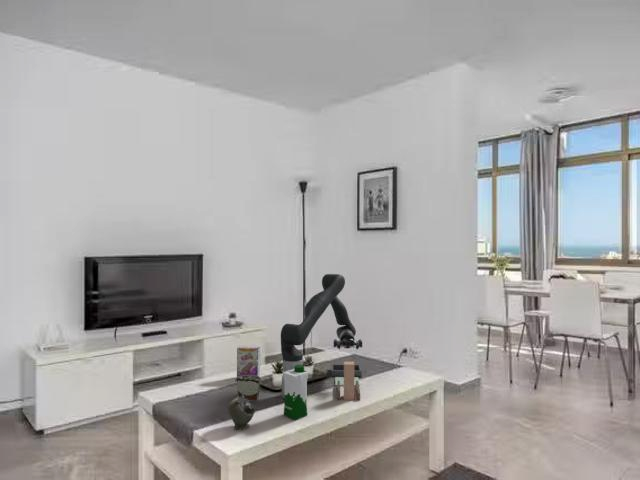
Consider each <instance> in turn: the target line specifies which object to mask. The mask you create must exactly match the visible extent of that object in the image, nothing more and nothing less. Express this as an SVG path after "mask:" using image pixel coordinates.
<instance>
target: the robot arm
mask: <svg viewBox="0 0 640 480" xmlns="http://www.w3.org/2000/svg"><path fill="white" fill-rule="evenodd" d="M345 284H346V278H345V277H344V276H343V275H342V274H339V273H338V274H337V273H328V274H325V275H323V276H322V279H321V286H322V288H323V290H322V291H320V292H318V293H316V294H314V295H313V296H312V297H311V298H310V299H309V300H308V301H307V303H306V304H305V305H304V310H303V311H304V319H303V321H302V322H301V323H299V324H293V323H285V324H284V325H283V326H282V328H281V330H280V349H281V350H280V353H281V355H282V373H283V372H286V371H288V370H292V369H294V368H295V365H303V363H304V360H303V357H304V356H303V355H304V354H303V352H302V351H301V350H299V349H298V348H297V347H296V346H301V345H303V344H304V343H305V341H306V340H307V338H308V337H309V335H310V334H311V332H312V331H313V328H314V326H315V325H316V323H317V322H318V320H320V318H321V317H322V316H323V314H324V313H325V311H326V310H327V309H328V307H329V305H330V306H331V308H332V310H333V313H334V317H335V322H336V324H337V325H338V326H339V327H337V329H336V337H337V338H338V339H339V340H337V339H334V340H333V348H336V349H338V350H340V349H341V348H342V349H343V348H344V349H351V348H355V349H356V350H359V349H360V348H363V341H362V339H358V340H356V339H355V336H356V333H357V330H356V328H355V326H354V324H353V323H352V322H351V320H350V317H349V314H348V309H347V308H346V307H347V306H345V304H344V303H343V302H342V301H341V299H340V298H338V295H339V294H340V293H341V292H342V291H343V289H344V287H345ZM303 366H304V365H303ZM281 398H282V399H285V384H284V377H283V375H282V377H281Z"/></svg>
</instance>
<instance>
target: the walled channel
mask: <svg viewBox="0 0 640 480" xmlns="http://www.w3.org/2000/svg"><path fill="white" fill-rule="evenodd" d="M359 384H360V383H359ZM359 384H358V381H356V386H355V390H356V396H357V401H361V390H360V386H359ZM337 401H341V386H340V381H338V386H337Z"/></svg>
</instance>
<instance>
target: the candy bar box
mask: <svg viewBox="0 0 640 480" xmlns="http://www.w3.org/2000/svg"><path fill="white" fill-rule="evenodd" d="M260 362H261V346H254V345H253V346H251V345H250V346H249V345H239V346H238V347H237V348H236V377H238V376H241V375H257V376H259V377H260V378H261V375H260V374H261V373H260V372H261V363H260Z"/></svg>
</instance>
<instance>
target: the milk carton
mask: <svg viewBox="0 0 640 480" xmlns="http://www.w3.org/2000/svg"><path fill="white" fill-rule="evenodd" d="M282 376H283V377H284V384H285V398H284V403H283V416H285V417H287V418H290V419H291V420H293V421H297V420H299V419H301V418H303V417H307V416H308V407H307V406H308V405H307V404H308V403H307V400H308V399H307V398H308V397H307V392H308V391H307V388H308V387H307V386H308V383H307V382H308V377H309V371H306V370H305V365H295V368H294V369H292V370H288V371H286V372H283V371H282Z"/></svg>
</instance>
